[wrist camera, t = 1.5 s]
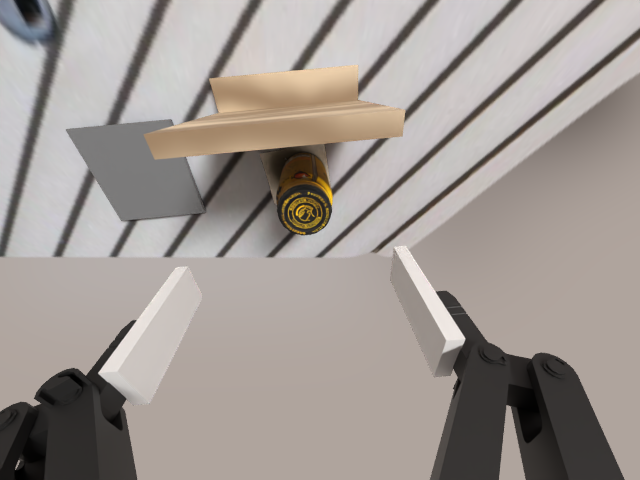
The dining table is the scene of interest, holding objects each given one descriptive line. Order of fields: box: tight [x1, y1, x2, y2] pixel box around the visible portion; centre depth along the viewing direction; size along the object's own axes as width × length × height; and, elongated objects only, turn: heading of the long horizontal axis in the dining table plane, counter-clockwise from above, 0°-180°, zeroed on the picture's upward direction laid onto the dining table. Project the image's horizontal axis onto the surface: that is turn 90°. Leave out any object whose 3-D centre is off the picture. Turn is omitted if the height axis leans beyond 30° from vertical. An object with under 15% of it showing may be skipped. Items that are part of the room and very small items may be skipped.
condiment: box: [260, 144, 332, 235], centre depth 27 cm, size 7×8×12 cm
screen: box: [143, 65, 405, 160], centre depth 21 cm, size 5×16×16 cm, turn 94°
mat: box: [66, 119, 206, 221], centre depth 31 cm, size 12×12×1 cm
